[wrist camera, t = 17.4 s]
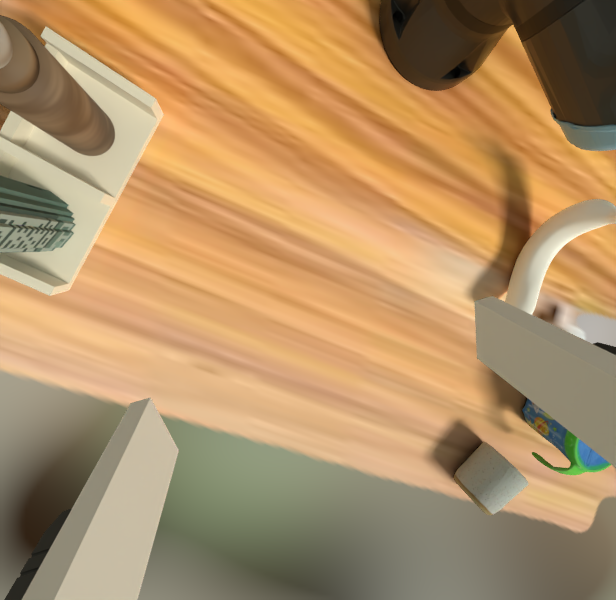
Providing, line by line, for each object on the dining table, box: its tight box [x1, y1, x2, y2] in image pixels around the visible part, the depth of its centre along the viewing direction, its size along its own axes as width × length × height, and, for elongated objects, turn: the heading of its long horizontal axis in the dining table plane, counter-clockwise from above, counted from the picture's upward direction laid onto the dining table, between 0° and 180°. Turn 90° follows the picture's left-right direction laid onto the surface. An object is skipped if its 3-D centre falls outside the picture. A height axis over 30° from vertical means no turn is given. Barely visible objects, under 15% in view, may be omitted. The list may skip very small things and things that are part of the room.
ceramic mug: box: [454, 442, 528, 515], centre depth 51 cm, size 11×8×8 cm
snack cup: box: [522, 399, 611, 475], centre depth 51 cm, size 16×10×10 cm
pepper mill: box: [0, 15, 115, 156], centre depth 25 cm, size 5×5×17 cm
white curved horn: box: [505, 199, 616, 315], centre depth 43 cm, size 5×19×15 cm, turn 161°
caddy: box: [0, 27, 164, 296], centre depth 32 cm, size 22×10×4 cm, turn 150°
